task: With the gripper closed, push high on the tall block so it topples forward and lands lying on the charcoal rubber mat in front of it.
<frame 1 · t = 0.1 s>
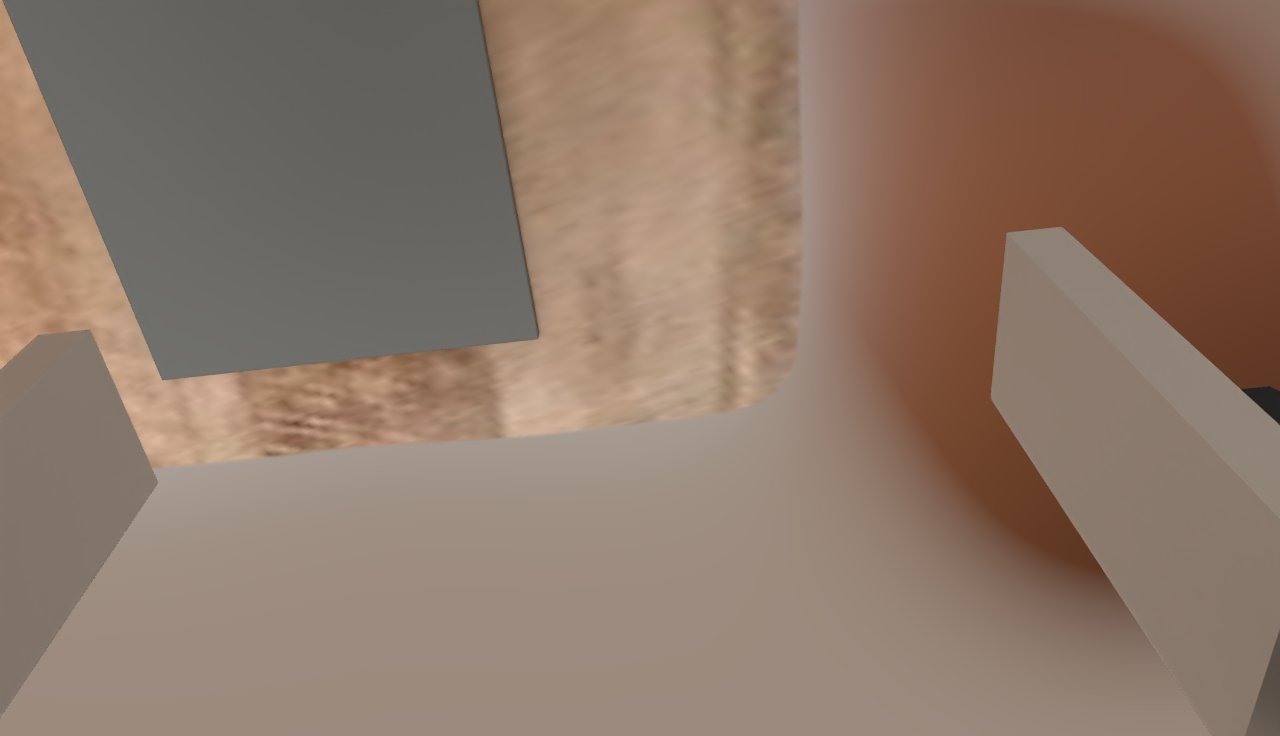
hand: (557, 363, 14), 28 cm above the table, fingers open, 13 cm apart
mat: (284, 126, 40), on the table
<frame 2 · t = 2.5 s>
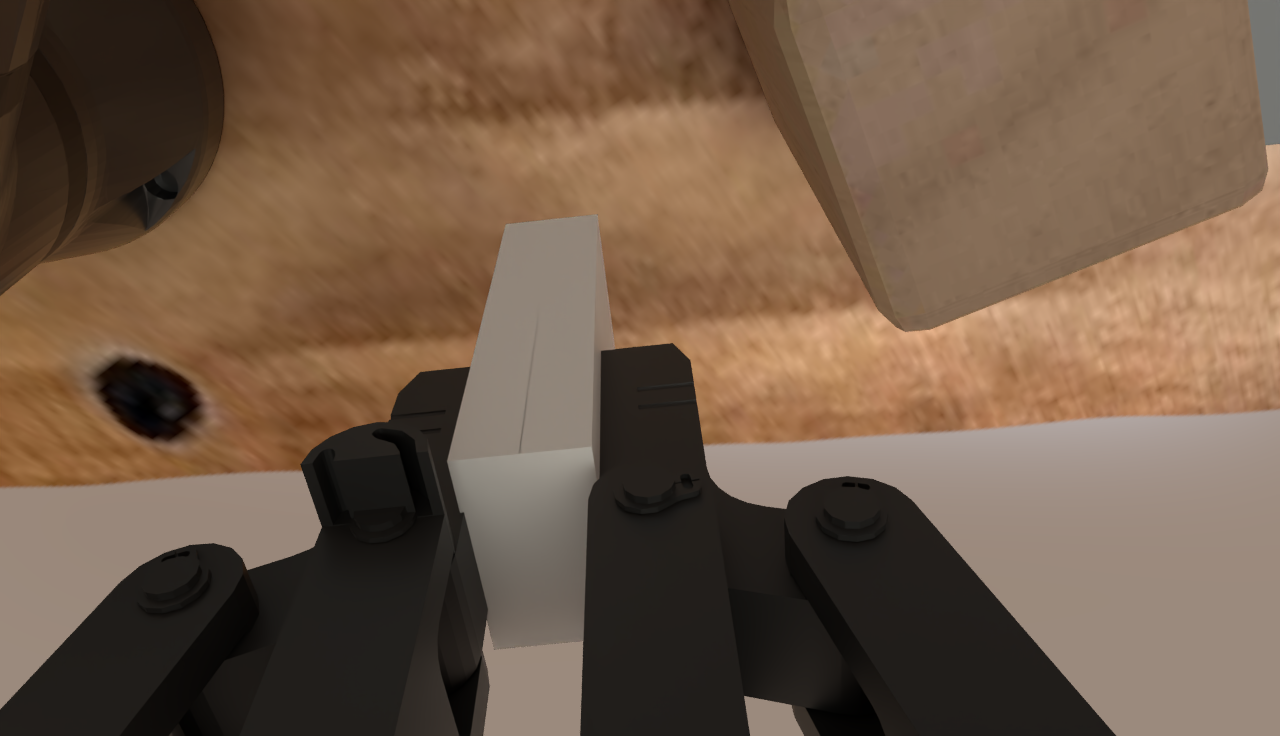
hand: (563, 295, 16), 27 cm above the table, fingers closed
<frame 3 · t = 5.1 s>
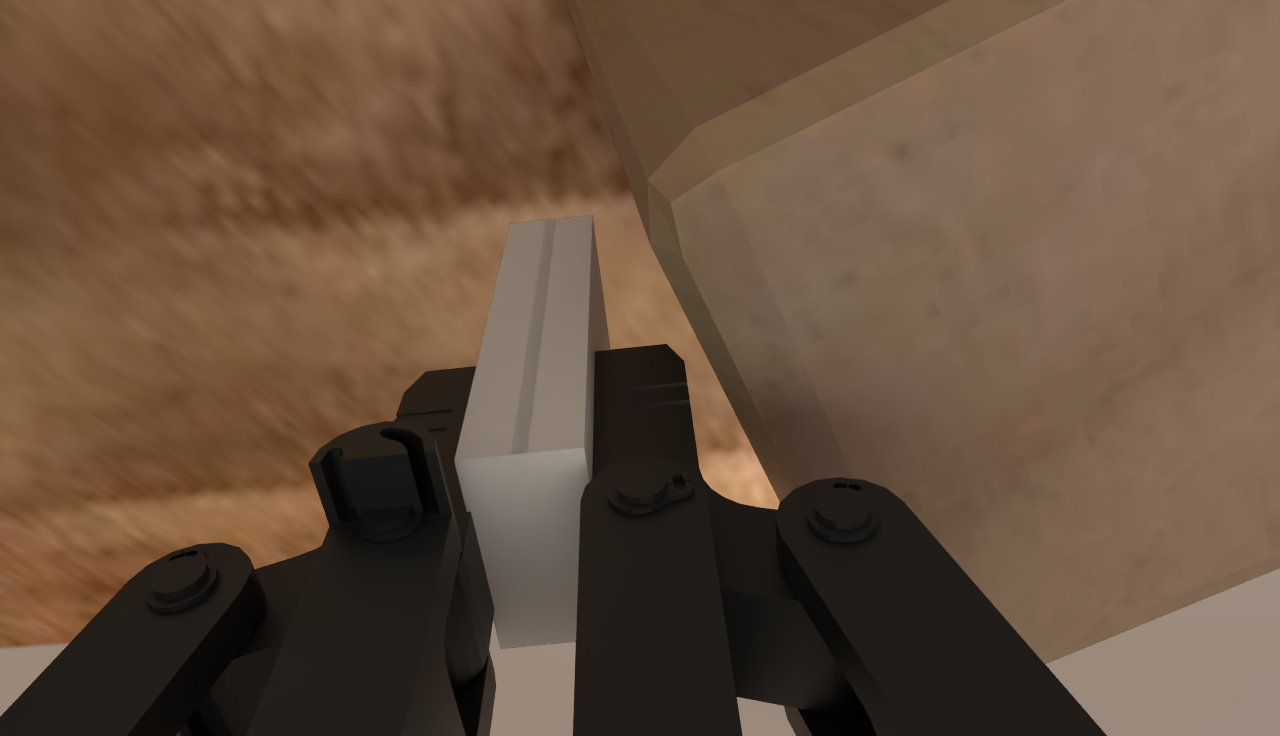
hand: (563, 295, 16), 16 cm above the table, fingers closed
block: (769, 38, 29), on the table, touching gripper
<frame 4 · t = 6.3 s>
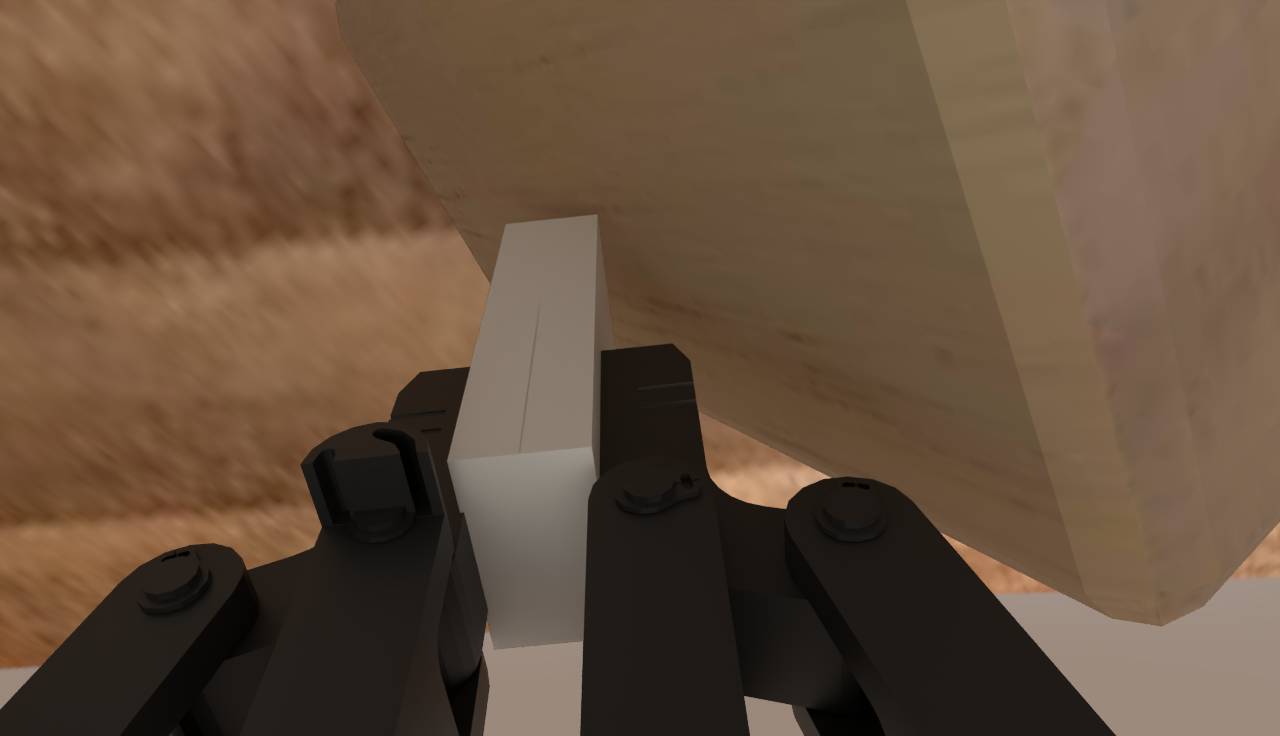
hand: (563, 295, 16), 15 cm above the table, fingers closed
block: (563, 87, 27), point 2 cm above the table
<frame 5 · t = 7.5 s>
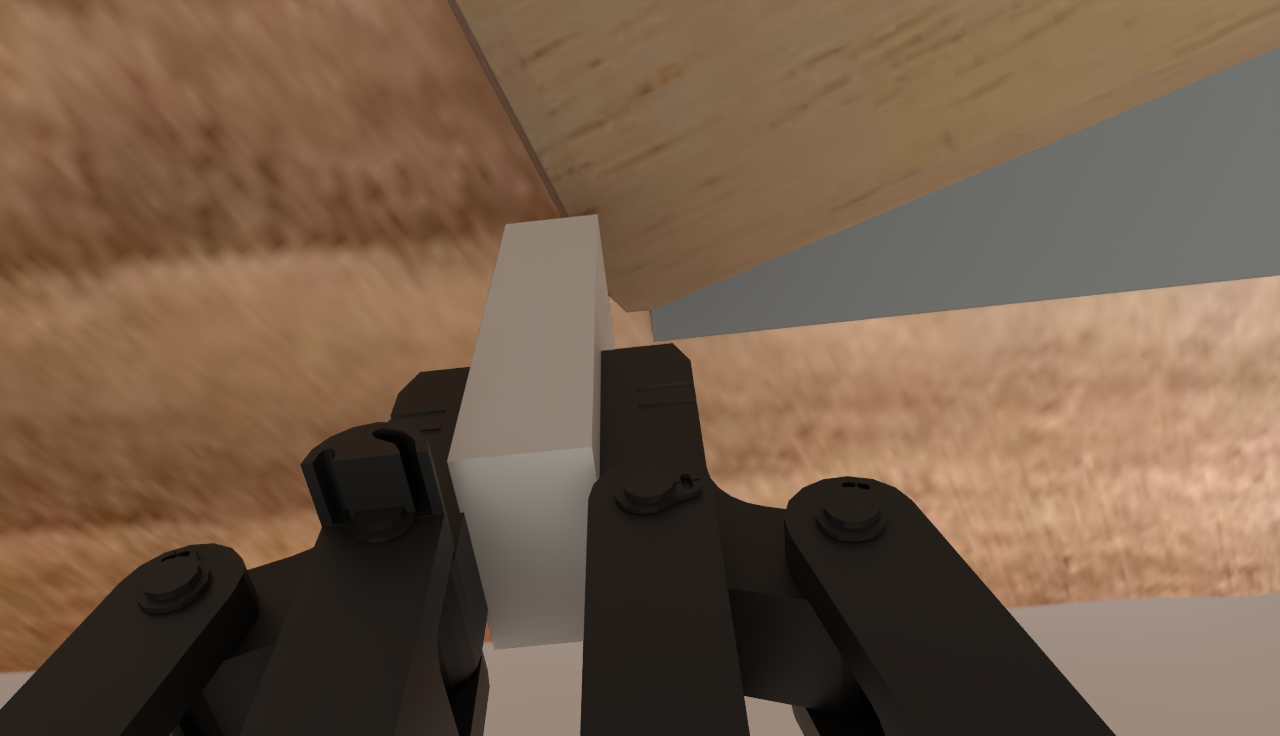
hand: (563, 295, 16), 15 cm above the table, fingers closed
block: (521, 87, 24), point 6 cm above the table, touching mat
mat: (989, 31, 29), on the table
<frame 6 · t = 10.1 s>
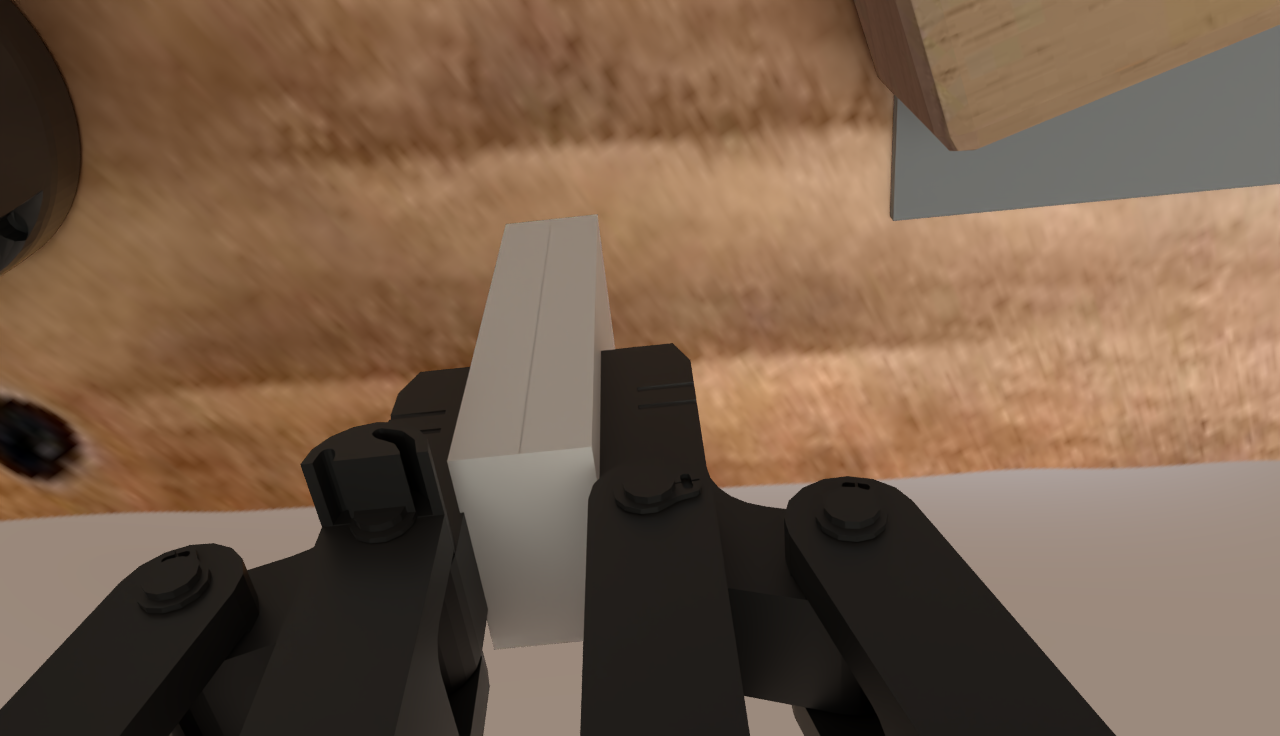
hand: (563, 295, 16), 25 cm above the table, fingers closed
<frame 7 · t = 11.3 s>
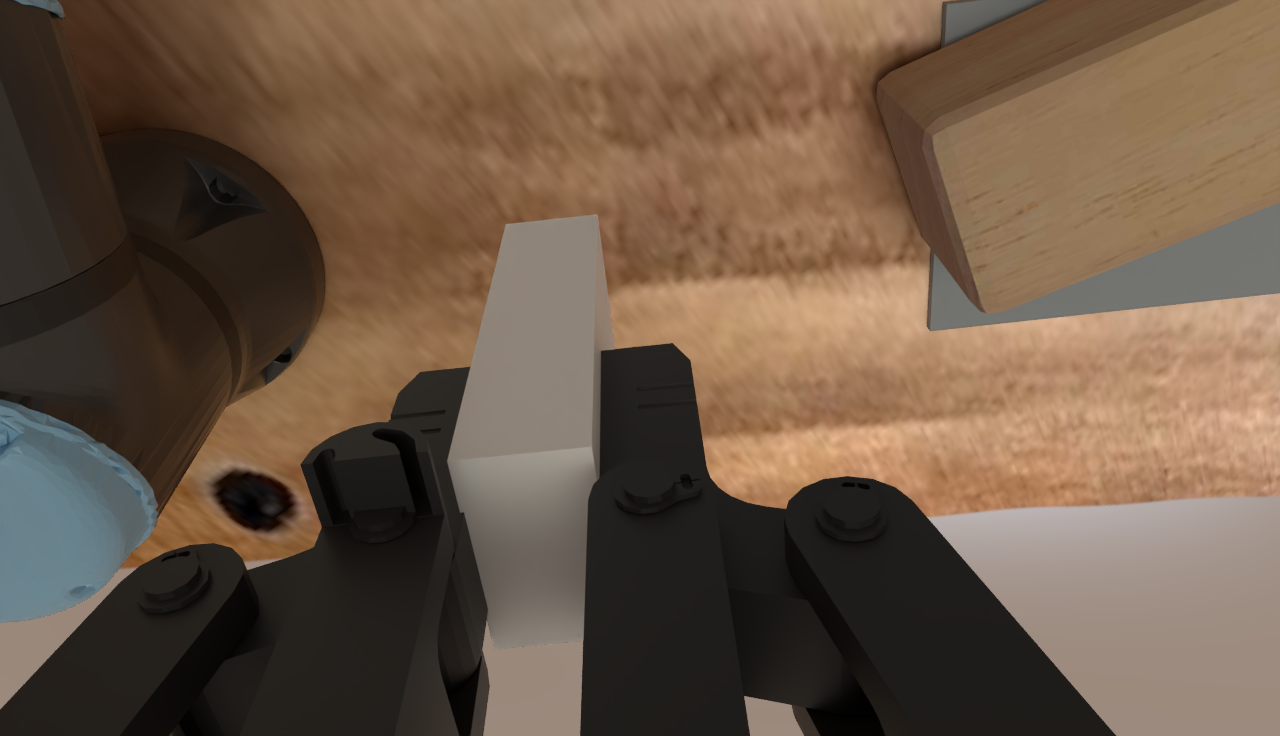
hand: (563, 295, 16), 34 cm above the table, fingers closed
block: (917, 198, 46), point 6 cm above the table, touching mat
mat: (1141, 155, 51), on the table
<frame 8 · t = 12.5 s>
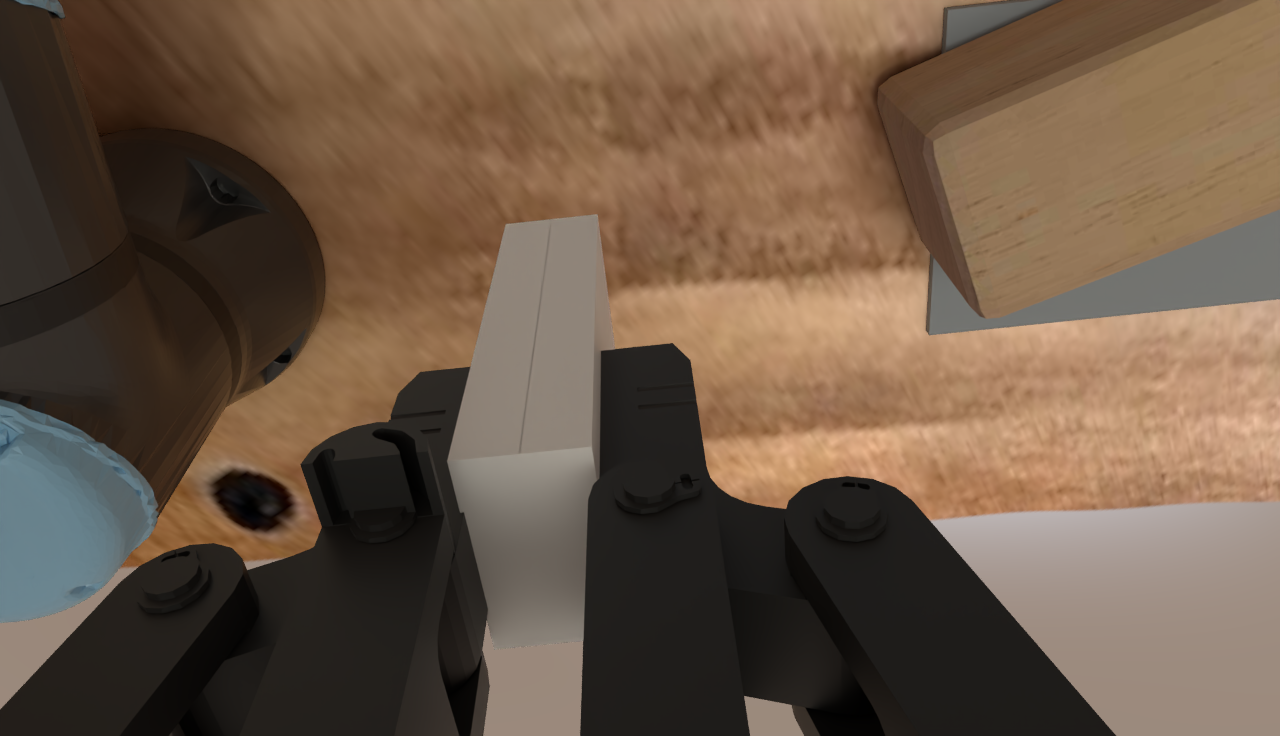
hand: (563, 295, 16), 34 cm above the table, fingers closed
block: (917, 203, 46), point 6 cm above the table, touching mat
mat: (1140, 161, 51), on the table
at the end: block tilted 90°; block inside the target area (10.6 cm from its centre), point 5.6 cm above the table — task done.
